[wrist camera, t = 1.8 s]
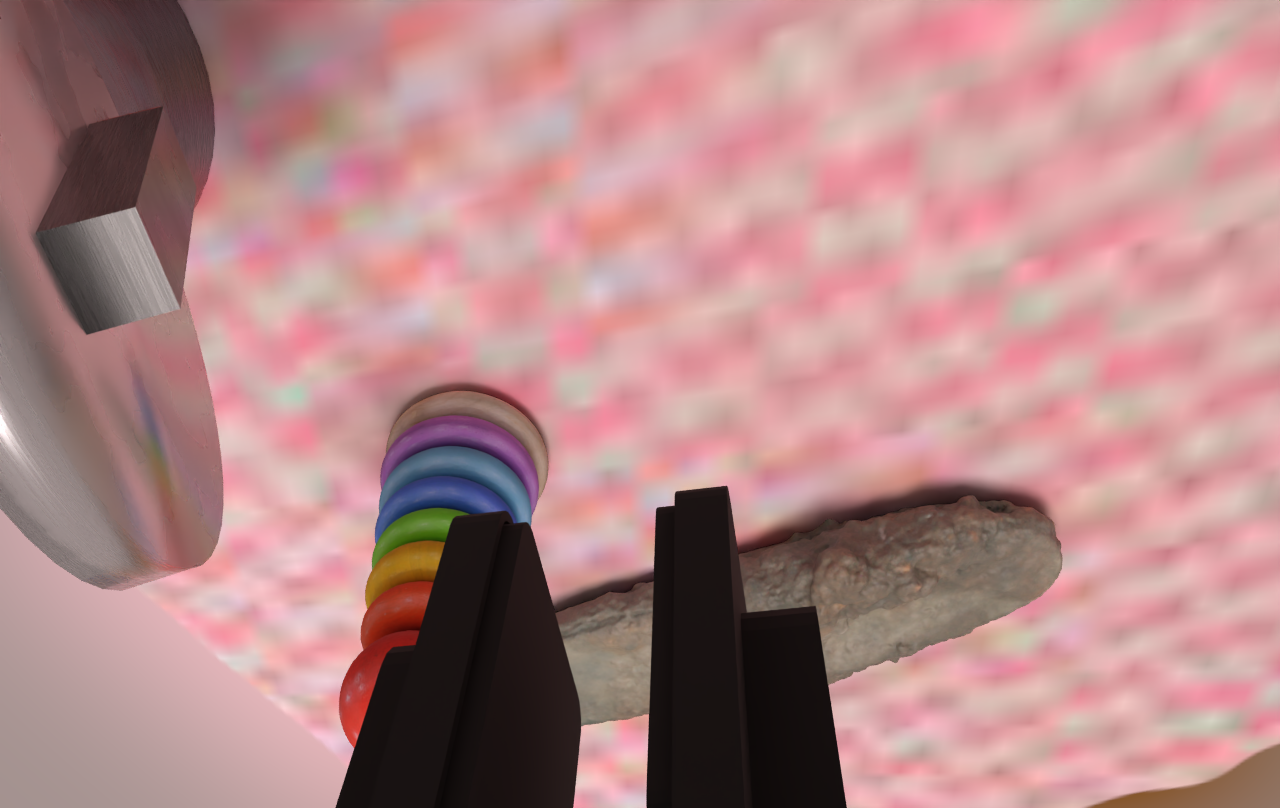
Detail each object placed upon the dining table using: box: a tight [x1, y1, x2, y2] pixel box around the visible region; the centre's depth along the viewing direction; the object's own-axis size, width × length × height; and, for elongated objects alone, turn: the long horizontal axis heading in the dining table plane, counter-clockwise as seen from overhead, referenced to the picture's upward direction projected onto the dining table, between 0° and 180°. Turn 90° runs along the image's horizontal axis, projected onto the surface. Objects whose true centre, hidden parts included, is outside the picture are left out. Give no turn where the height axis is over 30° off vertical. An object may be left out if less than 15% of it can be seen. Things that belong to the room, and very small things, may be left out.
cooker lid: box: [0, 0, 223, 590], centre depth 26 cm, size 18×18×4 cm
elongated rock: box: [555, 495, 1062, 726], centre depth 57 cm, size 35×5×10 cm
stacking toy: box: [339, 391, 548, 748], centre depth 46 cm, size 8×8×19 cm
